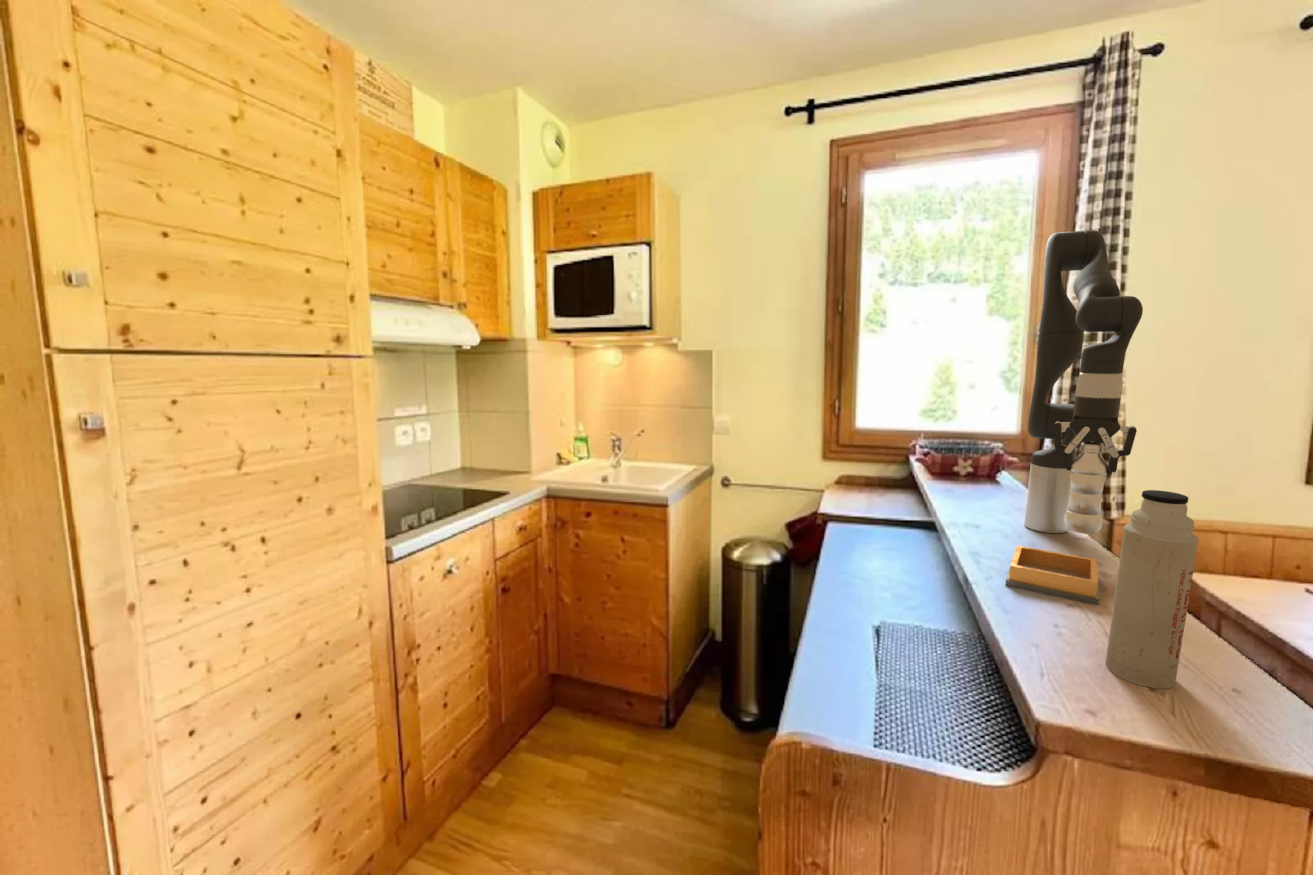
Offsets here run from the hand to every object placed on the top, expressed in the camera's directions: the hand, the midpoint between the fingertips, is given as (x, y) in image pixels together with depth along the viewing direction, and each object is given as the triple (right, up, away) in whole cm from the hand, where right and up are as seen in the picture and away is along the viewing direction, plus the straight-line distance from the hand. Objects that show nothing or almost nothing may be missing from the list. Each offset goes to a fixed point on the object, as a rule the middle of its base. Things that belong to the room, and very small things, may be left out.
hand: (1088, 471), depth 119 cm
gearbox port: (-11, -23, -4) cm, 25 cm away
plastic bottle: (0, -14, +3) cm, 14 cm away
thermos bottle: (-20, -28, -36) cm, 50 cm away
